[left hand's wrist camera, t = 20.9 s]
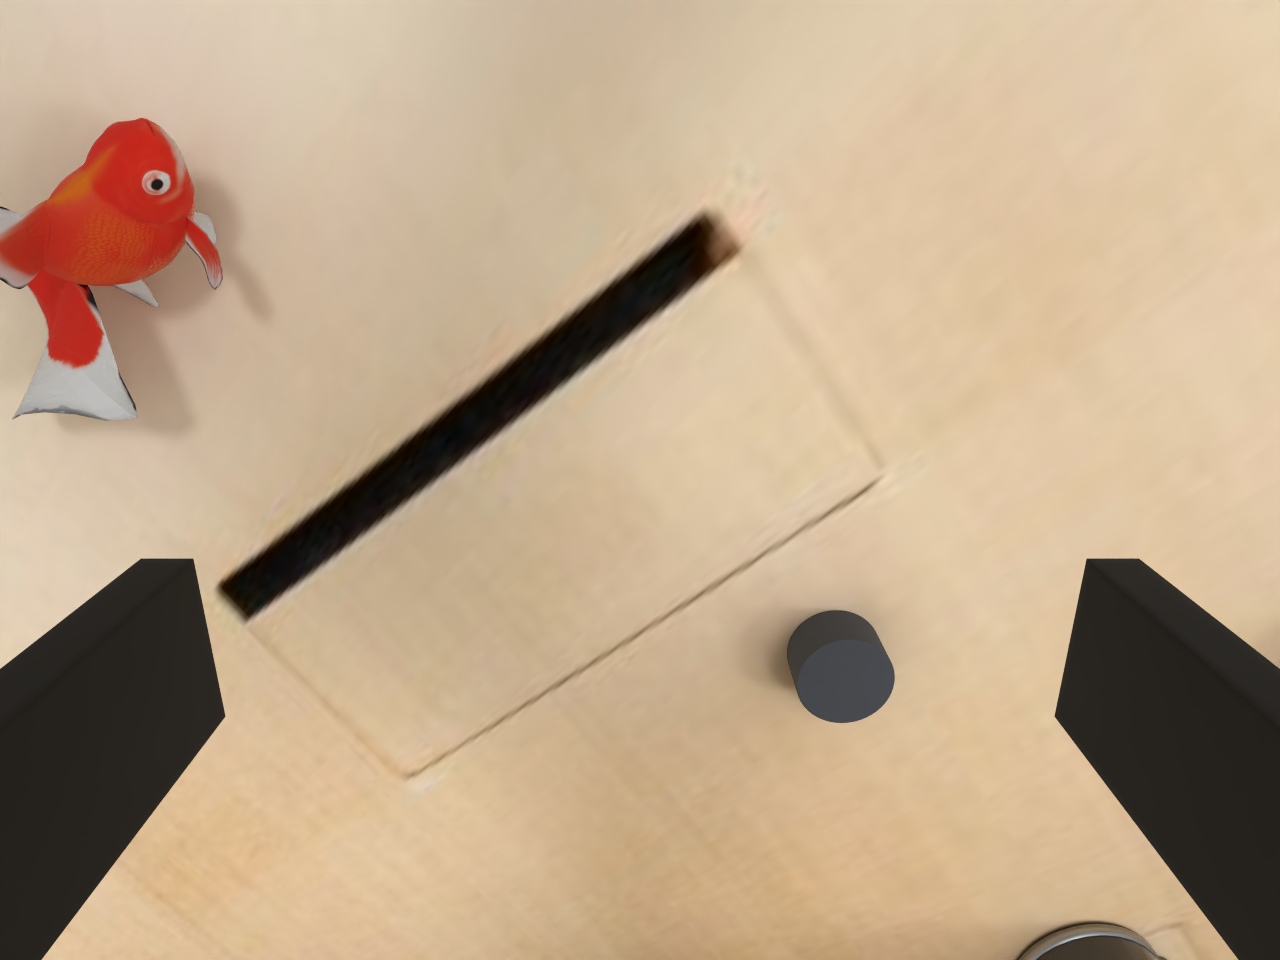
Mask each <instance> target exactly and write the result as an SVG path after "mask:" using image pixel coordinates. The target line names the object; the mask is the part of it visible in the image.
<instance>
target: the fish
mask: <svg viewBox="0 0 1280 960" xmlns="http://www.w3.org/2000/svg"><path fill="white" fill-rule="evenodd" d="M195 207H196V206H195V196H194V187H193V184H192V181H191V178H190V176H189V173H188V170H187V167H186V164H185V162H184V159H183V157H182V155H181V152H180V150H179V148H178V147H177V145H176V143H175V142H174V140H173V139H172V138H171V137H170V136H169V135H168V134H167V133H166V132H165V131H164V130H163V129H162V128H161V127H160V126H158V125H157V124H155V123H153V122H151V121H149V120H147V119H144V118H140V119H137V120H133V121H123V122H116V123H113V124H112V125H110V126H109V127H108V128H107V129H106V130H105V131H104V133H103V134H102V135H101V136H100V137H99V138H98V139H97V140H96V142H95V143H94V144H93V146H92V148H91V150H90V152H89V154H88V156H87V159H86V162H85V163H84V165H82V166H81V167H80V168H79V169H77V170H76V171H74V172H73V173H72V174H70V175H69V176H68V177H66V178H65V179H64V180H63V181H62V182H61V183H60V184H59V185H58V187H57V188H56V189H55V191H54V192H53V193H52V194H51V196H50V198H49V199H48V200H46V201H44V202H42V203H41V204H39V205H37V206H36V207H34V208H33V209H31V210H30V211H29V212H27V213H26V214H24V215H23V216H21V215H19V214H17V213H15V212H13V211H11V210H9V209H6V208H3V207H0V279H1V280H2V281H4V282H5V283H6V284H8V285H10V286H11V287H13V288H17V289H21V288H23V287H25V286H26V285H27V286H28V288H29V289H30V290H31V292H32V294H33V295H34V297H35V299H36V301H37V302H38V304H39V306H40V308H41V310H42V312H43V315H44V318H45V321H46V326H47V343H46V347H45V350H44V352H43V355H42V357H41V360H40V362H39V365H38V367H37V369H36V371H35V373H34V376H33V378H32V380H31V382H30V384H29V386H28V389H27V391H26V393H25V396H24V398H23V400H22V402H21V404H20V406H19V408H18V410H17V412H16V413H15V415H14V417H13V418H12V419H14V418H16V417H18V416H20V415H22V414H30V413H42V412H49V413H66V414H77V415H82V416H87V417H91V418H96V419H101V420H105V421H106V420H119V419H132V418H138V417H137V412H136V406H135V403H134V401H133V400H132V398H131V396H130V394H129V392H128V390H127V388H126V386H125V384H124V382H123V380H122V378H121V376H120V373H119V370H118V367H117V364H116V361H115V358H114V355H113V352H112V349H111V346H110V343H109V340H108V337H107V334H106V332H105V329H104V326H103V323H102V320H101V317H100V314H99V312H98V309H97V306H96V303H95V300H94V297H93V294H92V292H91V290H90V289H89V287H88V285H95V286H111V285H113V286H115V287H117V288H119V289H121V290H123V291H126V292H128V293H130V294H132V295H134V296H136V297H137V298H139V299H141V300H143V301H145V302H146V303H148V304H150V305H152V306H153V307H157V306H159V305H158V303H157V302H156V300H155V298H154V297H153V295H152V293H151V291H150V290H149V288H148V287H147V285H146V284H145V283H144V282H143V281H142V279H144V278H146V277H148V276H150V275H152V274H153V273H155V272H157V271H159V270H160V269H162V268H164V267H165V266H167V265H168V264H169V263H170V262H171V261H172V260H173V259H174V258H175V256H176V255H177V254H178V252H179V251H180V250H181V248H182V247H183V246H184V244H185V242H186V243H187V244H188V245H189V246H190V248H191V249H192V250H193V251H194V252H195V253H196V254H197V255H198V256H199V258H200V259H201V260H202V262H203V264H204V267H205V270H206V273H207V277H208V280H209V283H210V285H211V286H212V287H213V288H214V289H216V288H217V287H218V286H219V285H220V283H221V281H222V279H223V278H222V268H221V266H220V258H219V254H218V251H217V249H216V248H215V246H214V244H215V243H216V241H217V238H216V233H215V230H214V227H213V223H212V221H211V219H210V217H209V216H207V215H206V214H203V213H198V212H196V211H195Z"/></svg>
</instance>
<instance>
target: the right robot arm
mask: <svg viewBox="0 0 1280 960" xmlns="http://www.w3.org/2000/svg"><path fill="white" fill-rule="evenodd" d="M1019 960H1166V959H1162V958H1159V957H1158V956H1157V954H1156V953H1155V951H1154V950H1153V948H1152V947H1151V945H1150V944H1149V943H1148V942H1147V941H1146V940H1145V939H1144V938H1143V937H1141V936H1140V935H1138V934H1137V933H1135V932H1133V931H1131V930H1128V929H1126V928H1123V927H1119V926H1115V925H1108V924H1086V925H1079V926H1074V927H1070V928H1066V929H1063V930H1060V931H1058V932H1055V933H1053V934H1051V935H1049V936H1047V937H1045V938H1043V939H1042V940H1040V941H1039V942H1037V943H1036V944H1034V945H1033V946H1032V947H1031V948H1029V949H1028V950H1027V951H1026V952H1025V953H1024V954H1023V956H1022V957H1021V958H1020V959H1019Z"/></svg>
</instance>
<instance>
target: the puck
mask: <svg viewBox="0 0 1280 960" xmlns="http://www.w3.org/2000/svg"><path fill="white" fill-rule="evenodd" d="M787 658H788V663H789V666H790V670H791V673H792V676H793V680H794V683H795V686H796V690H797V693H798V696H799V699H800V701H801V702H802V704H803V705H804V707H805V708H806V709H807V710H808V711H809V712H811V713H812V714H813V715H815V716H817V717H818V718H821V719H823V720H826V721H829V722H835V723H848V722H854V721H858V720H861V719H863V718H866V717H868V716H870V715H872V714H873V713H875V712H876V711H877V710H878V709H880V708H881V707H882V706H883V705H884V704H885V702H886V701H887V700H888V698H889V696H890V694H891V692H892V689H893V686H894V678H895V676H894V669H893V665H892V663H891V661H890V659H889V657H888V655H887V653H886V651H885V649H884V647H883V645H882V643H881V641H880V639H879V637H878V635H877V633H876V631H875V630H874V628H873V627H872V626H871V625H870V623H869V622H867V621H866V620H865V619H864V618H862V617H860V616H858V615H856V614H854V613H850V612H846V611H828V612H823V613H820V614H817V615H815V616H812V617H811V618H809V619H807V620H806V621H804V622H803V623H802V624H801V625H800V626H799V627H798V628H797V629H796V630H795V632H794V633H793V635H792V637H791V639H790V641H789V645H788V650H787Z"/></svg>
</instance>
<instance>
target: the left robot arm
mask: <svg viewBox="0 0 1280 960" xmlns="http://www.w3.org/2000/svg"><path fill="white" fill-rule="evenodd" d="M224 718H225V712H224V707H223V702H222V697H221V693H220V688H219V683H218V678H217V673H216V668H215V663H214V658H213V653H212V648H211V643H210V639H209V634H208V629H207V624H206V619H205V614H204V609H203V604H202V599H201V594H200V589H199V584H198V580H197V575H196V570H195V565H194V560H193V559H140V560H139V561H138V562H136V563H135V564H134V565H132V566H131V567H130V568H129V569H127V570H126V571H125V572H124V573H122V574H121V575H120V576H118V577H117V578H116V579H115V580H113V581H112V582H111V583H109V584H108V585H107V586H106V587H104V588H103V589H102V590H101V591H99V592H98V593H97V594H95V595H94V596H93V597H92V598H90V599H89V600H88V601H86V602H85V603H84V604H83V605H81V606H80V607H79V608H78V609H76V610H75V611H74V612H72V613H71V614H70V615H69V616H67V617H66V618H65V619H63V620H62V621H61V622H60V623H58V624H57V625H56V626H55V627H53V628H52V629H51V630H49V631H48V632H47V633H46V634H44V635H43V636H42V637H41V638H39V639H38V640H37V641H35V642H34V643H33V644H32V645H30V646H29V647H28V648H26V649H25V650H24V651H23V652H21V653H20V654H19V655H18V656H16V657H15V658H14V659H12V660H11V661H10V662H9V663H7V664H6V665H5V666H3V667H2V668H1V669H0V960H42V958H43V957H44V956H45V954H46V953H47V952H48V950H49V949H50V948H51V946H52V945H53V944H54V942H55V941H56V940H57V938H58V937H59V936H60V934H61V933H62V932H63V930H64V929H65V928H66V926H67V925H68V924H69V923H70V921H71V920H72V919H73V917H74V916H75V915H76V913H77V912H78V911H79V909H80V908H81V907H82V905H83V904H84V903H85V901H86V900H87V899H88V897H89V896H90V895H91V893H92V892H93V891H94V889H95V888H96V887H97V885H98V884H99V883H100V882H101V880H102V879H103V878H104V876H105V875H106V874H107V872H108V871H109V870H110V868H111V867H112V866H113V864H114V863H115V862H116V860H117V859H118V858H119V856H120V855H121V854H122V852H123V851H124V850H125V848H126V847H127V846H128V844H129V843H130V842H131V841H132V839H133V838H134V837H135V835H136V834H137V833H138V831H139V830H140V829H141V827H142V826H143V825H144V823H145V822H146V821H147V819H148V818H149V817H150V815H151V814H152V813H153V811H154V810H155V809H156V807H157V806H158V805H159V803H160V802H161V801H162V800H163V798H164V797H165V796H166V794H167V793H168V792H169V790H170V789H171V788H172V786H173V785H174V784H175V782H176V781H177V780H178V778H179V777H180V776H181V774H182V773H183V772H184V770H185V769H186V768H187V766H188V765H189V764H190V763H191V761H192V760H193V759H194V757H195V756H196V755H197V753H198V752H199V751H200V749H201V748H202V747H203V745H204V744H205V743H206V741H207V740H208V739H209V737H210V736H211V735H212V733H213V732H214V731H215V729H216V728H217V727H218V725H219V724H220V723H221V722H222V720H223V719H224ZM1055 718H1056V719H1057V720H1058V722H1059V723H1060V724H1061V725H1062V727H1063V728H1064V729H1065V731H1066V732H1067V733H1068V735H1069V736H1070V737H1071V739H1072V740H1073V741H1074V743H1075V744H1076V745H1077V747H1078V748H1079V749H1080V751H1081V752H1082V753H1083V755H1084V756H1085V757H1086V759H1087V760H1088V761H1089V763H1090V764H1091V765H1092V766H1093V768H1094V769H1095V770H1096V772H1097V773H1098V774H1099V776H1100V777H1101V778H1102V780H1103V781H1104V782H1105V784H1106V785H1107V786H1108V788H1109V789H1110V790H1111V792H1112V793H1113V794H1114V796H1115V797H1116V798H1117V800H1118V801H1119V802H1120V804H1121V805H1122V806H1123V807H1124V809H1125V810H1126V811H1127V813H1128V814H1129V815H1130V817H1131V818H1132V819H1133V821H1134V822H1135V823H1136V825H1137V826H1138V827H1139V829H1140V830H1141V831H1142V833H1143V834H1144V835H1145V837H1146V838H1147V839H1148V841H1149V842H1150V843H1151V844H1152V846H1153V847H1154V848H1155V850H1156V851H1157V852H1158V854H1159V855H1160V856H1161V858H1162V859H1163V860H1164V862H1165V863H1166V864H1167V866H1168V867H1169V868H1170V870H1171V871H1172V872H1173V874H1174V875H1175V876H1176V878H1177V879H1178V880H1179V882H1180V883H1181V884H1182V885H1183V887H1184V888H1185V889H1186V891H1187V892H1188V893H1189V895H1190V896H1191V897H1192V899H1193V900H1194V901H1195V903H1196V904H1197V905H1198V907H1199V908H1200V909H1201V911H1202V912H1203V913H1204V915H1205V916H1206V917H1207V919H1208V920H1209V921H1210V923H1211V924H1212V925H1213V926H1214V928H1215V929H1216V930H1217V932H1218V933H1219V934H1220V936H1221V937H1222V938H1223V940H1224V941H1225V942H1226V944H1227V945H1228V946H1229V948H1230V949H1231V950H1232V952H1233V953H1234V954H1235V956H1236V957H1237V958H1238V960H1280V669H1279V668H1278V667H1277V666H1275V665H1274V664H1273V663H1271V662H1270V661H1269V660H1268V659H1266V658H1265V657H1264V656H1262V655H1261V654H1260V653H1259V652H1257V651H1256V650H1255V649H1254V648H1252V647H1251V646H1250V645H1248V644H1247V643H1246V642H1245V641H1243V640H1242V639H1241V638H1239V637H1238V636H1237V635H1236V634H1234V633H1233V632H1232V631H1231V630H1229V629H1228V628H1227V627H1225V626H1224V625H1223V624H1222V623H1220V622H1219V621H1218V620H1217V619H1215V618H1214V617H1213V616H1211V615H1210V614H1209V613H1208V612H1206V611H1205V610H1204V609H1202V608H1201V607H1200V606H1199V605H1197V604H1196V603H1195V602H1194V601H1192V600H1191V599H1190V598H1188V597H1187V596H1186V595H1185V594H1183V593H1182V592H1181V591H1179V590H1178V589H1177V588H1176V587H1174V586H1173V585H1172V584H1171V583H1169V582H1168V581H1167V580H1165V579H1164V578H1163V577H1162V576H1160V575H1159V574H1158V573H1156V572H1155V571H1154V570H1153V569H1151V568H1150V567H1149V566H1148V565H1146V564H1145V563H1144V562H1142V561H1141V560H1140V559H1087V560H1086V565H1085V570H1084V575H1083V580H1082V584H1081V589H1080V594H1079V599H1078V604H1077V609H1076V614H1075V619H1074V624H1073V629H1072V634H1071V639H1070V643H1069V648H1068V653H1067V658H1066V663H1065V668H1064V673H1063V678H1062V683H1061V688H1060V693H1059V697H1058V702H1057V707H1056V712H1055Z"/></svg>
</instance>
